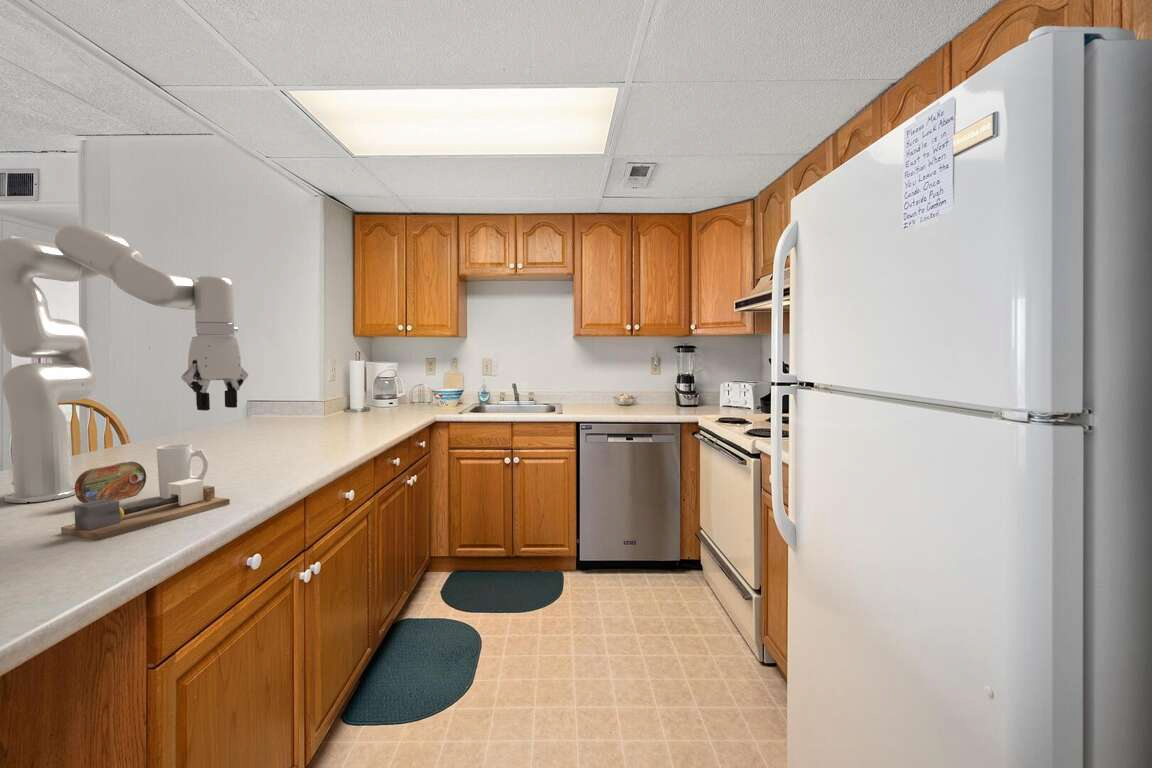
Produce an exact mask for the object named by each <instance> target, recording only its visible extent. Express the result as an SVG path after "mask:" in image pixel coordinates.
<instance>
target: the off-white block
mask: <svg viewBox="0 0 1152 768" xmlns="http://www.w3.org/2000/svg"><path fill="white" fill-rule="evenodd" d="M203 486H204V479H203V480H197V479H187V480H182V481H177V482H173V483H168V498H172V497H177V496H178V502H175V503H179V506H182V505H186V504H190V503H194V502H198V501H202V500H204V496H203ZM171 504H174V503H171Z"/></svg>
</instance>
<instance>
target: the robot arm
mask: <svg viewBox="0 0 1152 768" xmlns="http://www.w3.org/2000/svg"><path fill="white" fill-rule="evenodd" d="M100 275H102V276H103V277H106V278H108V279H110V280H112V281H113V283H114V284H115V286H116V287H118V289H120V290H121V291H123V292H124V293H126V294H128V295H131V297H134V298H136V299H139V300H140V301H143V302H144V303H147V304H149V305H153V306H155V307H160V308H170V309H177V310H178V309H179V310H187V311H194V314H195V315H194V320H195V321H194V322H195V323H194V325H195V326H194V327H195V336H192V337H191V340H190V344H189V350H188V359H187V363H188V364H187V370H186V371H185V372H184V373H183V374H182V375H181V380H182V381H184V383H186V384H187V385H188V387H189V388H190V389H191V390H192V392H193V393H195V401H196V402H195V403H196V404H195V405H196V409H197V410H198V411H205V412H206V411H209V410H210V409H211V407H210V406H211V405H210V392H207V390H208V388H209V385H210V382H211V381H223V383H224V385H225V387H226V390H225V391H224V407H226V408H231V409H234V408H237V407H238V391H240V387H241V386H242V385H243V384H244V382H245V380H246V379H247V378H248V377H249V373H247V371H246V370H245V369H244V368H243V367H242V361H241V352H240V347H239V342H238V339H237V337H235V334H237V333H238V327H236V326H235V313H234V311H235V309H234V285H233V281H231V280H230V279H229V278H227V277H221V276H211V275H210V276H209V275H204V276H198V277H196V278H194V277H188V276H183V275H178V274H173V273H167V272H163V271H160V270H157V269H155V268H153V267H151V266H149V265H147V264H145V262H144V257H143V255H142V254H141V252H140V251H138V250H137V249H135V248H133V247H131V246H130V245H129V244H128V242H127V241H126V240H125V239H124V237H122V236H120V235H118V234H116V233H113V232H110V231H106V230H103V229H99V228H95V227H92V226H91V227H89V226H87V225H81V224H73V225H72V224H71V225H67V226H64V227H62V228H60V230H58V231H57V232H56V234H55V235H54V243H51V242H46V241H42V240H38V239H37V240H36V239H30V238H23V237H12V238H11V237H9V238H4V239H2V240H0V330H1V335H2V339H3V340H2V341H3V343H4V346H5V349H6V350H7V352H8V353H10V354H11V355H13V356H15V357H20V358H28V359H29V358H30V359H31V358H32V359H34V358H36V359H42V358H43V359H50V360H51V362H35V363H34V362H33V363H25V364H24V363H23V364H20V365H16V366H15V367H12V368H10V369H9V370H7V372H6V373H5V374H4V376H3V378H2V382H1V385H2V386H1V387H2V392H3V394H4V398H5V401H6V405H7V407H8V412H9V413H8V414H9V419H10V420H9V421H10V422H9V423H10V437H11V452H12V454H11V455H12V457H11V458H12V471H13V473H12V474H13V481H11V485H12V486H13V492H11V493H8V494H6V495H5V496H4V501H5V502H6V503H9V502H10V504H27V502H30V503H40V502H46V501H54V500H59V499H64V498H67V497H71V496H74V495H76V493H75V485H71V482H70V478H71V477H70V459H69V458H70V457H69V454H70V453H69V438H68V437H69V436H68V435H69V434H68V421H67V418H66V415H65V414H64V411H63V409H61V407H60V406H59V404H58V403H63V402H64V403H65V402H73V401H75V402H76V401H81V400H84V399H86V398H88V397H90V395H92V393H93V392H94V389H95V387H96V374H95V368H94V362H93V357H92V352H91V351H92V350H91V346H90V341H89V338H88V335H87V334H86V332H85V330H84V329H83V328H82V327H81V325H79V324H77V323H76V322H74V321H71V320H68V319H63V318H61V319H60V318H52V317H51V314H50V310H49V303H48V299H47V297H46V295H45V293H44V292H43V291H42V289H41V288H40V287H39V286H38V285H37V284H36V282H34V280H33V279H34V278H36V279H37V278H39V279H45V280H53V281H59V282H67V283H68V282H70V283H74V282H75V283H76V282H82V281H84V280H88V279H91V278H93V277H97V276H100ZM53 499H54V500H53Z"/></svg>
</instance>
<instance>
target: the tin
mask: <svg viewBox="0 0 1152 768" xmlns="http://www.w3.org/2000/svg"><path fill="white" fill-rule="evenodd" d="M146 481H147V473H146V470H145V468H144V466H142V464H140V463H139V462H137V461H127V462H126V461H123V462H119V463H113V464H109V465H104V466H99V467H96V468H91V469H88V470H85V471H83V472H82V473H81V474H80V475H79V476H78V477H77V478H76V481H75V483H74V486H75V493H76V494H75V496H76V499H78V501H79V502H81V504H83V503H88V502H92V501H97V500H101V499H109V500H117V501H120V499H121V500H124V499H128V498H131V496H132V497H134V495H135V496H137V494H139V493H140V492H141V491H143V489H144V488H145V485H146ZM127 497H128V498H127Z"/></svg>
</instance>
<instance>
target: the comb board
mask: <svg viewBox="0 0 1152 768" xmlns="http://www.w3.org/2000/svg"><path fill="white" fill-rule="evenodd" d="M203 496H204V500H202V501H198V502H194V503H190V504H186V505H182V506H179V503H175V502H178V496H177V497H172V498H168V499H160V500H157V501H152V502H148V503H144V504H139V505H136V506H132V507H131V506H130V507H127V508H124V509H123V508H122V507H121V506H120V500H117V501H116V500H109V499H101V500H97V501H92V502H88V503H79V504H74V505H73V506H74V507H73V508H74V511H73V512H74V523H72V524H68V525H64V526H61V527H60V532H61V534H62V533H63V534H64V535H69V536H74V537H80V538H86V539H92V540H97V541H101V540H105V539H109V538H112V537H116V536H120V535H122V534H126V533H130V532H134V531H138V530H141V528H142V529H145V528H148V526H149V527H152V526H155V524H156V525H159V524H158V523H160V524H163V523H166V521H167V522H170V521H174V520H176V519H180V518H181V519H182V518H185V517H189V516H191V515H196V514H198V513H199V514H200V513H203V512H207V511H209V510H213V508H214V509H218V508H221V507H224V505H225V506H228V505H230V504H231V503H230V502H231V501H230V498H225V497H217V496H216V497H215V486H214V485H213V486H212V485H203ZM171 503H174V504H171ZM217 507H218V508H217ZM188 515H189V516H188ZM162 522H163V523H162ZM151 525H152V526H151ZM144 527H145V528H144ZM63 534H62V535H63Z"/></svg>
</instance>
